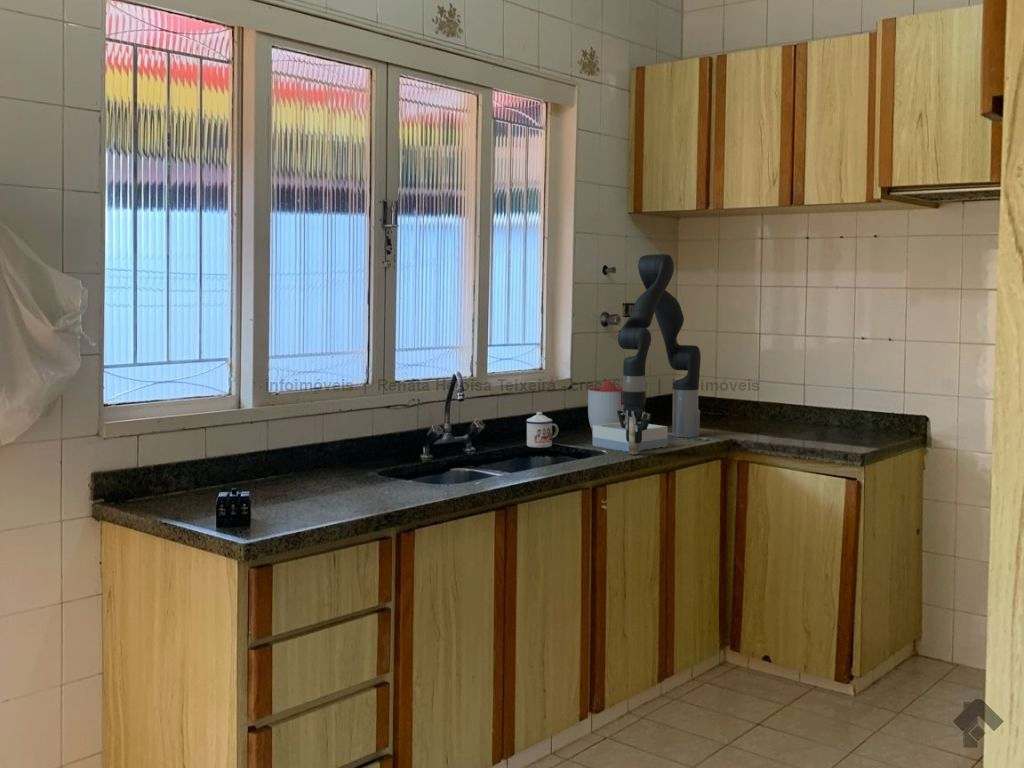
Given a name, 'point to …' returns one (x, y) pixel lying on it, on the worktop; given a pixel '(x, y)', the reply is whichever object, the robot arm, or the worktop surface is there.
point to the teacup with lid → (540, 431)
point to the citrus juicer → (604, 404)
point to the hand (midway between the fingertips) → (633, 442)
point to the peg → (632, 438)
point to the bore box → (616, 437)
